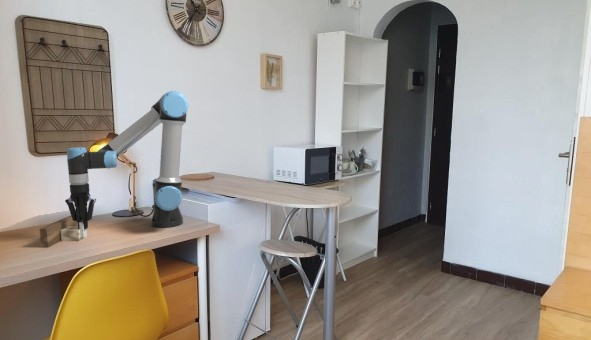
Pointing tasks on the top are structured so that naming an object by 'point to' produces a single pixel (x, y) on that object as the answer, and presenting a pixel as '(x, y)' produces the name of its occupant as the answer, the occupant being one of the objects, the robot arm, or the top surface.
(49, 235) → the walnut board
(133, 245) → the top surface
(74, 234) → the beech block
